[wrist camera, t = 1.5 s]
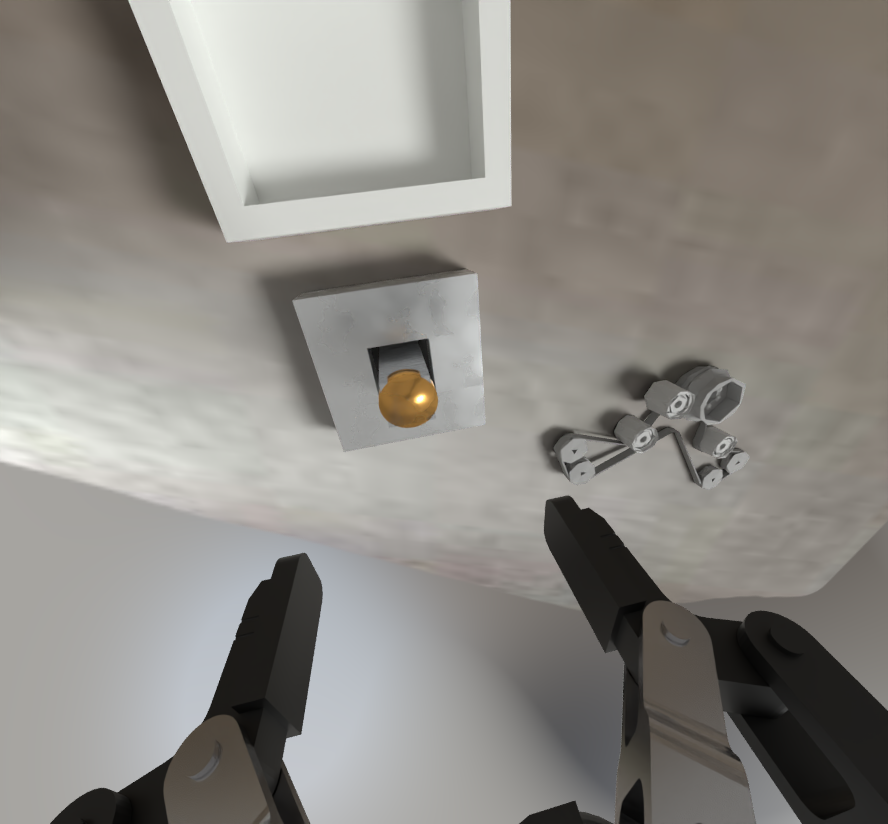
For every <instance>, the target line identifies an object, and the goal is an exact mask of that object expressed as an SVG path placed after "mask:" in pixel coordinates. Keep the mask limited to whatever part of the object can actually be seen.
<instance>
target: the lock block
mask: <svg viewBox="0 0 888 824" xmlns="http://www.w3.org/2000/svg"><path fill="white" fill-rule="evenodd" d="M292 302H293V304H294V307H295V310H296V313H297V316H298V319H299V322H300V325H301V328H302V331H303V334H304V337H305V339H306V342H307V345H308V348H309V351H310V354H311V357H312V360H313V363H314V366H315V369H316V372H317V375H318V377H319V380H320V383H321V386H322V389H323V392H324V395H325V398H326V401H327V404H328V407H329V410H330V412H331V415H332V418H333V421H334V424H335V427H336V430H337V433H338V436H339V439H340V442H341V445H342V447H343V450H344V452H346V451H351V450H356V449H362V448H367V447H372V446H377V445H382V444H387V443H393V442H398V441H403V440H408V439H413V438H418V437H424V436H429V435H434V434H439V433H444V432H449V431H454V430H460V429H465V428H470V427H475V426H480V425H485V424H486V422H485V404H484V386H483V368H482V350H481V331H480V313H479V295H478V277H477V273H476V272H473V271H471V270H468V269H462V270H455V271H448V272H441V273H435V274H428V275H421V276H414V277H407V278H400V279H393V280H387V281H380V282H373V283H366V284H359V285H352V286H345V287H339V288H332V289H325V290H318V291H311V292H304V293H301V294H300V295H299V296H297V297H296V298H295V299H294V300H292ZM421 339H426V346H427V353H428V360H429V366H430V373H431V378H430V379H431V380H432V382H433V384H434V387H435V389H436V392H437V396H438V406H437V409H436V411H435V415H436V419H433V420H428V421H427V422H425V423H424V424H422V425H420V426H417V427H412V428H402V427H398V426H396V427H391V428H389V425H388V421H387V420H386V419H385V418H384V417H383V415H382V414H381V412H380V409H379V389H380V388H379V379H378V375H377V371H376V367H375V362H374V358H373V354H372V350H371V348H373V347H379V346H385V345H391V344H397V343H403V342H409V341H415V340H421Z"/></svg>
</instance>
